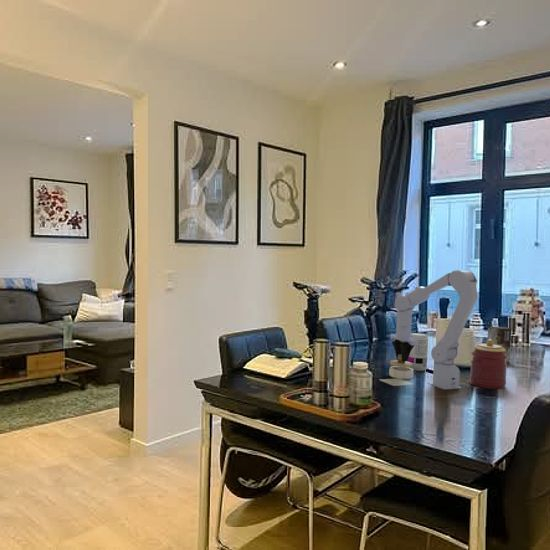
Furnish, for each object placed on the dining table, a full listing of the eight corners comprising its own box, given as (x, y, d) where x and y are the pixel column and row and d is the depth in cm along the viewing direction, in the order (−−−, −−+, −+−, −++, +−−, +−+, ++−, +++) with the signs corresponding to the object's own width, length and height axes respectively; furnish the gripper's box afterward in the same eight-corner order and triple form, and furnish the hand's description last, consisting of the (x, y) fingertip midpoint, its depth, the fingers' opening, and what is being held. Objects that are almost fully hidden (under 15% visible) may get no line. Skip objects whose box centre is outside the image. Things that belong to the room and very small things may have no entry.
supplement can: (404, 369, 224) (406, 334, 223) (409, 366, 231) (411, 332, 231) (424, 372, 220) (426, 336, 220) (428, 368, 227) (430, 334, 227)
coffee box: (505, 360, 255) (507, 326, 255) (509, 362, 249) (511, 328, 248) (485, 358, 256) (487, 325, 256) (489, 361, 250) (491, 327, 249)
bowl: (417, 379, 207) (418, 370, 207) (398, 380, 203) (399, 371, 203) (403, 374, 215) (404, 365, 215) (385, 375, 212) (385, 366, 212)
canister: (462, 383, 203) (465, 338, 202) (480, 379, 211) (482, 335, 210) (495, 391, 193) (498, 343, 192) (512, 386, 201) (515, 340, 200)
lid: (414, 367, 204) (415, 357, 204) (391, 366, 205) (392, 355, 205) (410, 363, 213) (410, 353, 213) (387, 361, 214) (388, 351, 214)
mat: (414, 385, 196) (414, 384, 196) (393, 386, 193) (393, 385, 193) (399, 379, 205) (399, 378, 205) (378, 380, 201) (378, 379, 201)
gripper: (423, 328, 203) (421, 363, 204) (401, 323, 217) (399, 356, 217) (408, 329, 201) (406, 364, 201) (386, 323, 214) (384, 356, 215)
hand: (402, 360), depth 209 cm, fingers closed on lid, 3 cm apart
